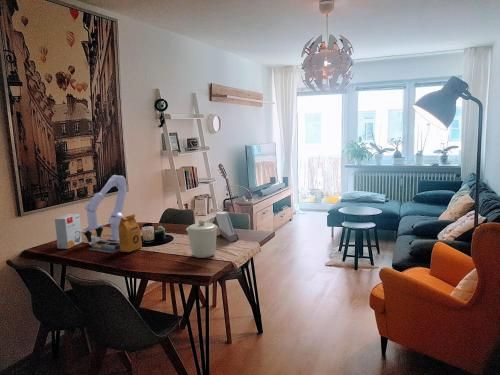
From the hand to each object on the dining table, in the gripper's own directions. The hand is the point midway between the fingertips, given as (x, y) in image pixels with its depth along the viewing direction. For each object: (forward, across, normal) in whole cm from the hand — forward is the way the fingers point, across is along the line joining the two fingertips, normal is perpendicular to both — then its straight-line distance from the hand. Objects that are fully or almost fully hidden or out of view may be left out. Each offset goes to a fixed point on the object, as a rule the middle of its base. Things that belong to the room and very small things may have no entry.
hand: (94, 240), depth 255 cm
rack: (+3, +4, +16) cm, 17 cm away
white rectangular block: (+3, 0, 0) cm, 3 cm away
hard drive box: (+3, +7, -15) cm, 17 cm away
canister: (+3, -6, +82) cm, 82 cm away
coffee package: (+3, +1, +33) cm, 33 cm away
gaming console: (+3, -43, +77) cm, 88 cm away
